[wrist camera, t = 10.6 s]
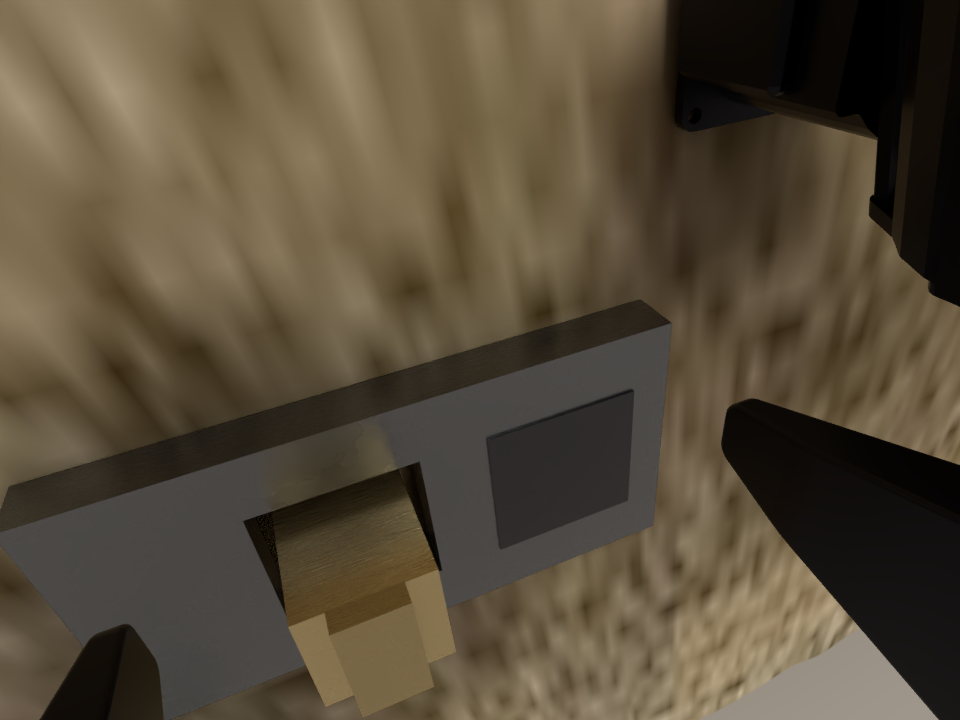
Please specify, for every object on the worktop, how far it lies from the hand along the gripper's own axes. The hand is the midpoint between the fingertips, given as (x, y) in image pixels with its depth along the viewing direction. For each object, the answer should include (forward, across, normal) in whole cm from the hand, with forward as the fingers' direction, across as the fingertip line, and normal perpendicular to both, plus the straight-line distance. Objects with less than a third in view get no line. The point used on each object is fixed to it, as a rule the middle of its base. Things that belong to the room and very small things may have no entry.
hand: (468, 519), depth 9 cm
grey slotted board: (+12, 0, +11) cm, 16 cm away
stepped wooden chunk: (+12, +2, +11) cm, 16 cm away
